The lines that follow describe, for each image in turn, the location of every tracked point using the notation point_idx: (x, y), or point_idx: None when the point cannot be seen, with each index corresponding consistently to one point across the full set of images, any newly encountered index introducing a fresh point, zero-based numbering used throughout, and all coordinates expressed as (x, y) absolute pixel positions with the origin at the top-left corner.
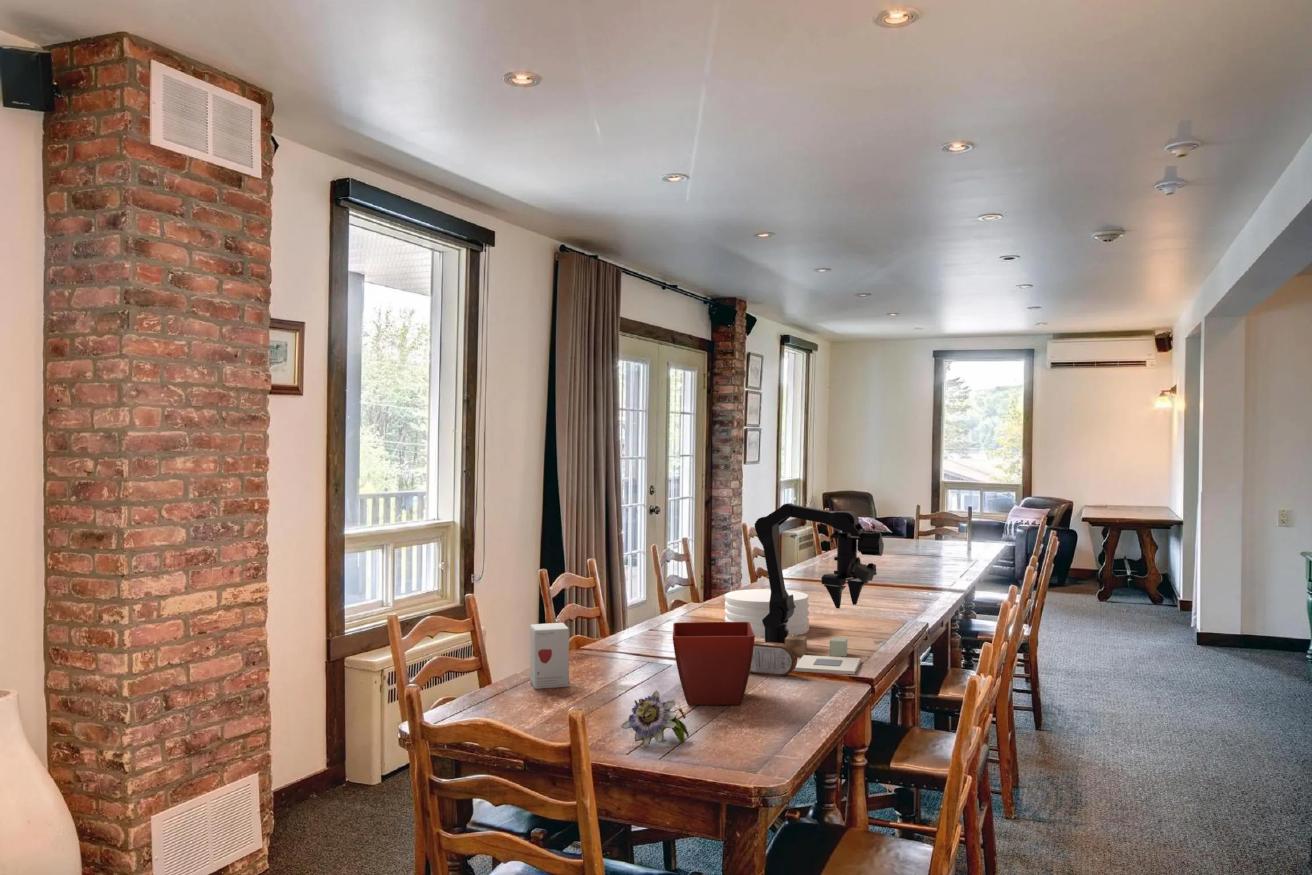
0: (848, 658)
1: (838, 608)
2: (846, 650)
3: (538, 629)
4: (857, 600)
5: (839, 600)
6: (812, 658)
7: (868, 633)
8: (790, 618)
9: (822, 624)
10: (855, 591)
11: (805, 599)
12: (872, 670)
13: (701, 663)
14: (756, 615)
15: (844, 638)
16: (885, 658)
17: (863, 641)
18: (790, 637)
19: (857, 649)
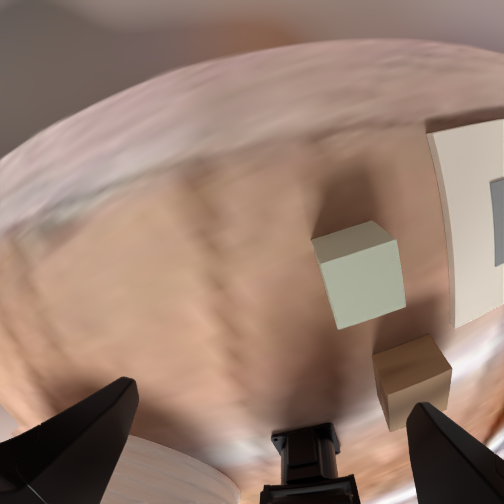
0: (454, 175)
1: (423, 403)
2: (348, 234)
3: None
4: (100, 393)
5: (475, 439)
6: (488, 283)
7: (7, 305)
8: (162, 484)
9: (36, 410)
10: (74, 479)
11: None
12: (494, 70)
13: None
14: None
15: (328, 274)
16: (312, 64)
17: (79, 278)
18: None
19: (211, 237)
